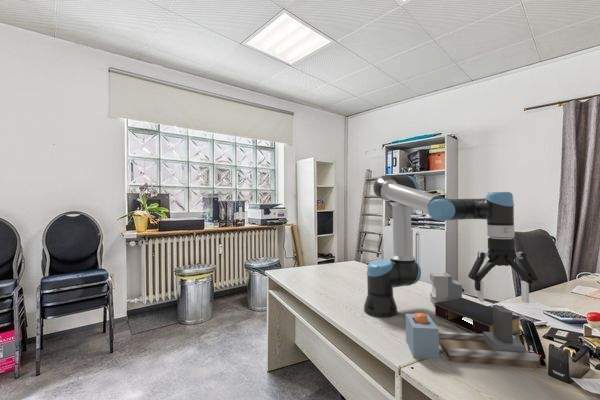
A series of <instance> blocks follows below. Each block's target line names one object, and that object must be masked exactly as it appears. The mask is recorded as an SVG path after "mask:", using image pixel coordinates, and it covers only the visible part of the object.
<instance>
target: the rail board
mask: <svg viewBox="0 0 600 400" xmlns="http://www.w3.org/2000/svg"><path fill="white" fill-rule="evenodd" d="M513 338H515V339H516V340H517V341H518V338H517V337H516V336H515V335H513ZM439 348H441V350H442V352H443V353H444V355H445V356H446V358H447V360H448V361H449V362H450V363H461V364H473V365H474V364H477V365H489V366H504V367H505V366H507V367H519V368H521V367H522V368H532V369H534V368H535V369H541V361H540V360H541V359H540V358H541V357H540V354H538V353H537V352H530V351H528V350H527V349H525V353H523V352H507V351H494V350H493V349H492V348H491V347H490V346H489V345H488V344H487V343H486V342H485V341H484V340H483V334H474V333H472V332H469V333H468V332H451V331H439Z"/></svg>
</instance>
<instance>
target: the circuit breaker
mask: <svg viewBox="0 0 600 400" xmlns="http://www.w3.org/2000/svg"><path fill="white" fill-rule="evenodd" d="M429 281H430V283H431V291H430V293H429V297H430V303H431V304H432V305H433V307H435V303H437V302H442V301H447V300H453V299H458V298H463V292H465V289H464V288H463V285H462V283H460V282H459V281H458V280H453V279H452V275H450V274H449V273H448V272H437V271H436V272H435V271H434V272H433V271H432V272H431V271H430V274H429Z"/></svg>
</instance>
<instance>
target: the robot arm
mask: <svg viewBox="0 0 600 400" xmlns="http://www.w3.org/2000/svg"><path fill="white" fill-rule="evenodd" d="M372 187H373V188H372V189H373V193H374V195H375V196H376V197H377V198H379V199H381V200H384V201H388V202H389V204H390V206H392V245H393V246H392V247H393V249H392V250H393V252H392V254H391V256H390V258H389V259H390V260H388V259H376V260H373V261H370V262H369V263H368V264H367V268H366V269H367V270H366V277H367V279H366V280H367V295H366V298H365V301H364V305H363V310H364V312H365V313H366V314H368V316H369V315H370V316H373V317H375V318H376V317H379V318H391V317H394V316H396V315H398V306H397V304H396V301H395V297H394V288H400V287H405V286H406V287H408V286H412V285H416V284H417V283H418V282H419V281H420V279H421V275H422V270H421V266H419V265H420V264H419V263H418V262H417V261H416V257H414V256H413V251H412V250H413V247H412V243H413V242H412V209H415V210H417V211H420V212H423V213H425V214H428V215H429V216H430V218H431V219H432V220H434V221H441V222H446V221H457V220H459V221H460V220H461V221H462V220H463V221H464V220H485V221H486V226H487V227H486V229H487V231H486V232H487V237H488V238H487V252H483V251H480V250H479V251H478V252H477V258H476V260H475V261H474V264H472V265H473V266H472V267H471V269H470V271H469V273H468V275H467V277H468V278H469V279H471V280H473V281H474V289H475V291H477V300H478V301H480V303H481V302H485V297H484V295H485V294H484V293H485V292H484V290H485V289H484V287H485V286H484V281H482V280H483V279H484V278H485V277H486V276H487V274H488V273H489V272H490V271H491V270H492V269H493V268H495V267H496V266H498V267H502V266H504V267H509V266H510V267H511V268H512V269H513V270H514V271H515V272H516V273H517V275H518V276H520V278H521V279H522V280H520V291H521V301H522V302H524V303H525V304H530V293H531V292H532V284H533V283H534V282H537V281H538V280H539V278H538V276H537V274H536V273H535V271H534V269H533V268H532V266H531V264H530V262H529V260H528V259H527V253H526V252H523V251H518V252H516V251H515V250H516V240H515V238H514V237H515V218H514V217H515V213H514V212H515V208H514V207H515V203H514V195H513V193H512V192H510V191H495V192H494V191H491V192H487V193H486V195H485V198H447V197H444V196H443V197H442V196H439V195H437V194H434V193H429V192H428V191H427V192H426V191H422V190H420V185H419V183H418V181H417V180H416V179H415V177H413V176H411V175H405V174H404V175H403V174H402V175H399V174H394V175H393V174H391V175H390V174H384V175H380V176H379V177H378V178H376V179H375V181H374V183H373V185H372ZM487 257H488V260H487V261H486V263H485V264H484V262H485V259H487ZM516 259H518V260H519V262H520V264H521V265H522V267H523V269H524V270H523V269H522V268H521V267H520V266H519V265H518V263H517V262H516V261H515V260H516ZM483 264H484V265H483ZM482 265H483V267H482Z"/></svg>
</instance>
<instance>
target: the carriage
mask: <svg viewBox="0 0 600 400" xmlns="http://www.w3.org/2000/svg"><path fill="white" fill-rule="evenodd" d="M492 308H493V332H483V340H484V341H485V342H486V343H487V344H488V345H489V346H490V347H491V348H492V349H493V350H494V351H507V352H523V353H525V350H526V348H525V347H526V346H525V345H524V344H522V343H521V342H520V341H519V340H518V339H517V340H516V339H515V338H513V336H514V334H513V329H512V315H513V312H512V311H511V310H510V309H507V308H506V307H505V306H503V305H492Z"/></svg>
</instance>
